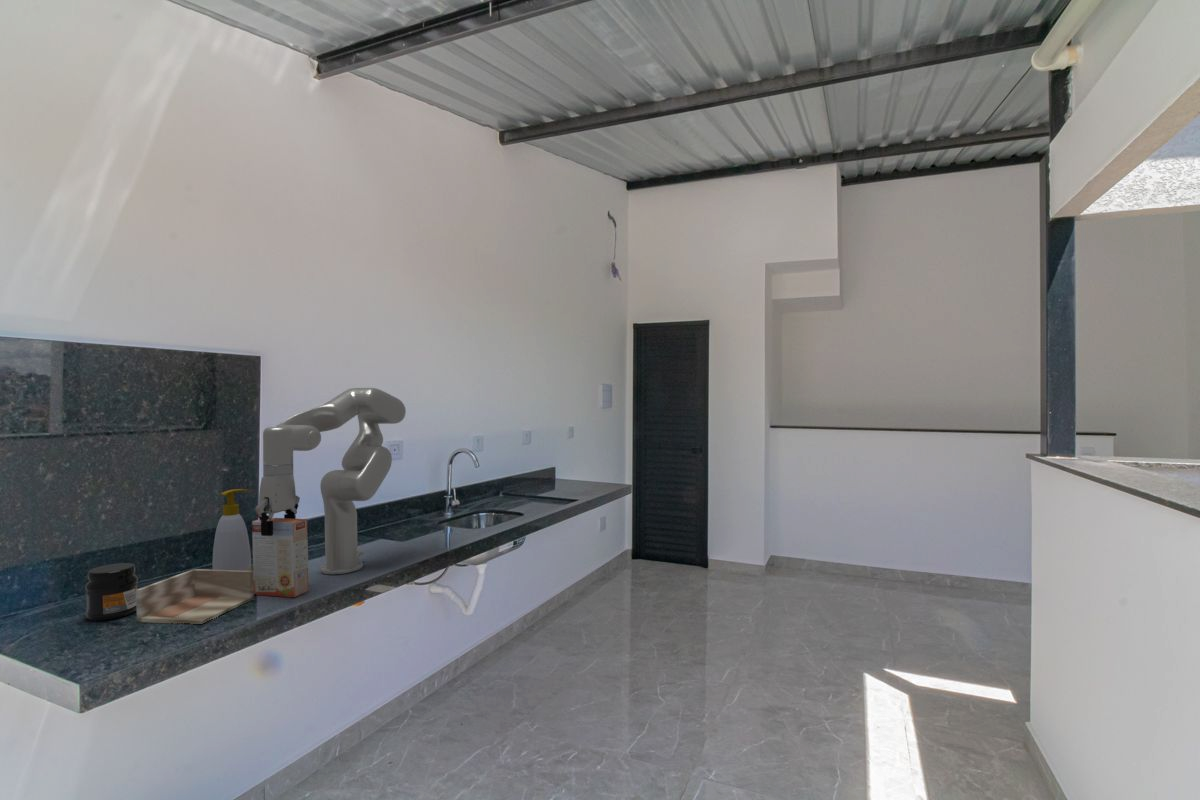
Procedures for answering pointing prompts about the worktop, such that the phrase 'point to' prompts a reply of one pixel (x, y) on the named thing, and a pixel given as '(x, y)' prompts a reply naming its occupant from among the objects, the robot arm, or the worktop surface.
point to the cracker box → (280, 558)
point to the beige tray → (194, 596)
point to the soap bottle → (231, 538)
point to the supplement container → (111, 592)
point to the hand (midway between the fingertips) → (278, 531)
